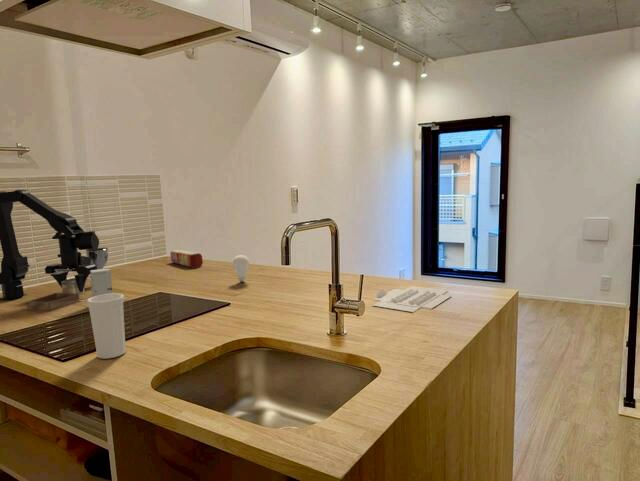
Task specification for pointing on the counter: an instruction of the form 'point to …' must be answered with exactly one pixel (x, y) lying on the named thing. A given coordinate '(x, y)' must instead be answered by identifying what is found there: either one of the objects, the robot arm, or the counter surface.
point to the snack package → (186, 258)
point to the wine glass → (98, 257)
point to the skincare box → (101, 282)
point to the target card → (84, 299)
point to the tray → (410, 298)
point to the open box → (52, 301)
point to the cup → (108, 324)
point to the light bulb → (241, 266)
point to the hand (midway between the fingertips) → (73, 291)
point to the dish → (88, 281)
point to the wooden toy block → (70, 286)
